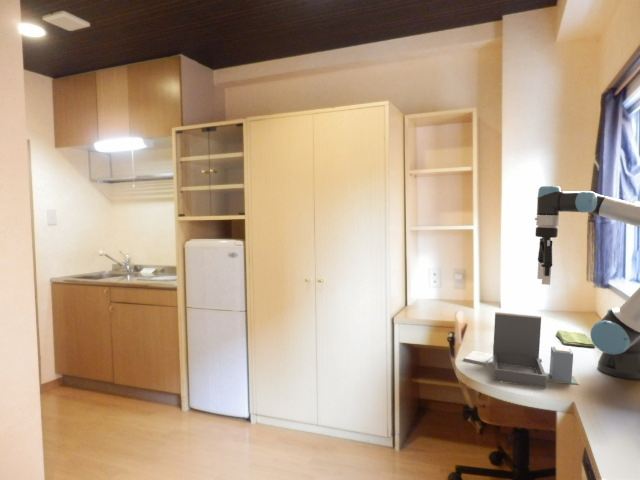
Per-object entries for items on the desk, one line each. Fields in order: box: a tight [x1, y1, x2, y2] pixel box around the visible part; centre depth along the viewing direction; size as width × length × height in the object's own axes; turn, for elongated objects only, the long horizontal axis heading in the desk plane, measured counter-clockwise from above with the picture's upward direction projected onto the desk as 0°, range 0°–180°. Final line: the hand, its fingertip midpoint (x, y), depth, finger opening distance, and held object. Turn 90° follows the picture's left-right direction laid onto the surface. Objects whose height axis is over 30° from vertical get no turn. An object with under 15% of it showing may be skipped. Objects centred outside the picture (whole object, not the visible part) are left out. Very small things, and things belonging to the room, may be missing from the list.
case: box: [492, 311, 547, 389], centre depth 162 cm, size 17×21×20 cm
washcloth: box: [555, 330, 596, 348], centre depth 205 cm, size 13×18×3 cm
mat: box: [545, 372, 579, 386], centre depth 159 cm, size 10×7×1 cm
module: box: [548, 346, 574, 382], centre depth 158 cm, size 6×6×10 cm
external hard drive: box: [463, 350, 493, 366], centre depth 178 cm, size 2×8×12 cm
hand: (543, 281), depth 174 cm, fingers open, 13 cm apart
